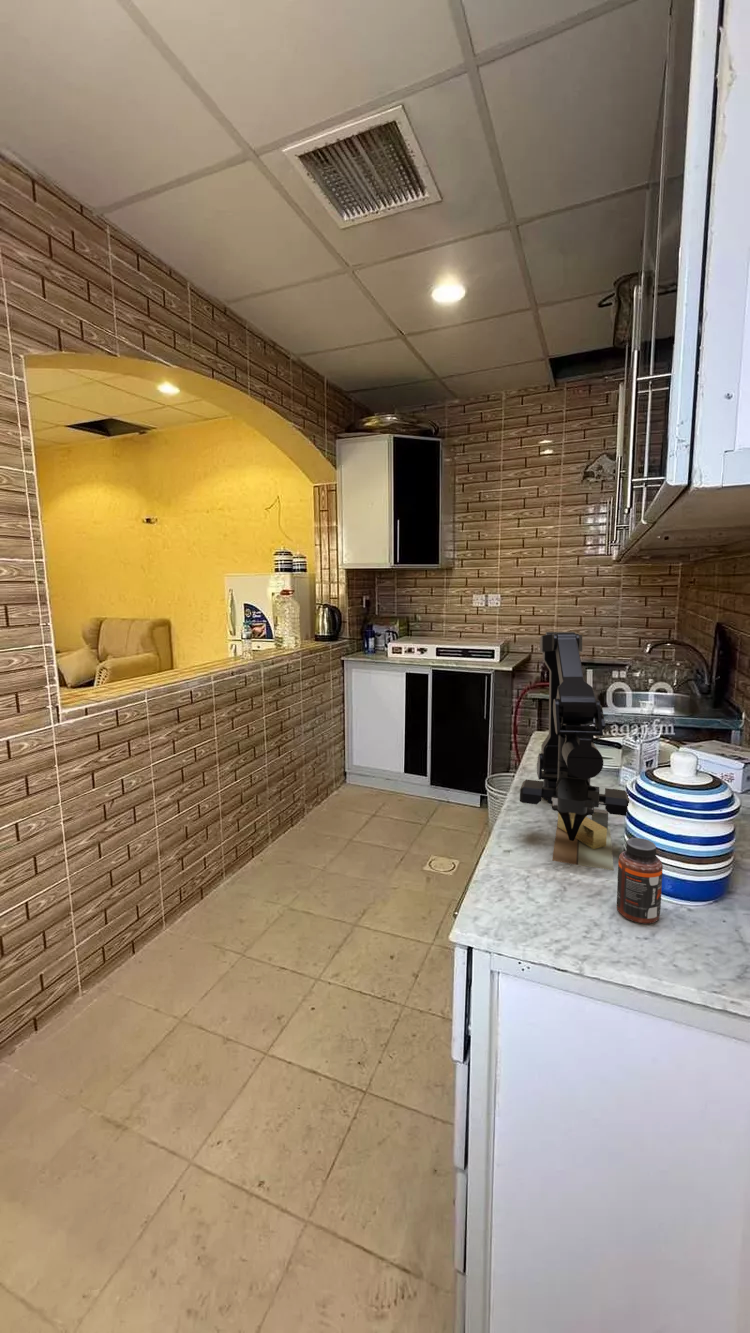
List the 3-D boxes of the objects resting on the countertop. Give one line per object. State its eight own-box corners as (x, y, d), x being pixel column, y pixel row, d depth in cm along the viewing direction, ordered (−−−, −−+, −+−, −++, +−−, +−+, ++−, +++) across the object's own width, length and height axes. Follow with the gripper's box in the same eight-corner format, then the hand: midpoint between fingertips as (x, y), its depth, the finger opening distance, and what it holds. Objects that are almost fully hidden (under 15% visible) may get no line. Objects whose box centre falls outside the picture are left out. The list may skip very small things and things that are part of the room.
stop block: (591, 824, 107) (591, 808, 107) (607, 827, 106) (607, 810, 106) (591, 828, 106) (591, 811, 105) (607, 830, 105) (608, 813, 104)
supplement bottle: (665, 928, 76) (670, 854, 75) (621, 923, 78) (625, 851, 76) (652, 904, 82) (656, 835, 81) (612, 900, 83) (615, 833, 82)
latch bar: (557, 826, 106) (558, 806, 106) (570, 824, 107) (570, 804, 107) (593, 849, 97) (593, 826, 96) (606, 846, 98) (606, 824, 97)
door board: (557, 825, 110) (557, 819, 110) (609, 832, 107) (609, 826, 106) (552, 866, 94) (552, 860, 94) (613, 876, 90) (613, 870, 90)
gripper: (516, 768, 93) (515, 851, 95) (633, 780, 86) (629, 869, 88) (524, 750, 103) (522, 825, 105) (629, 760, 96) (625, 840, 98)
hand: (571, 839), depth 99 cm, fingers closed
